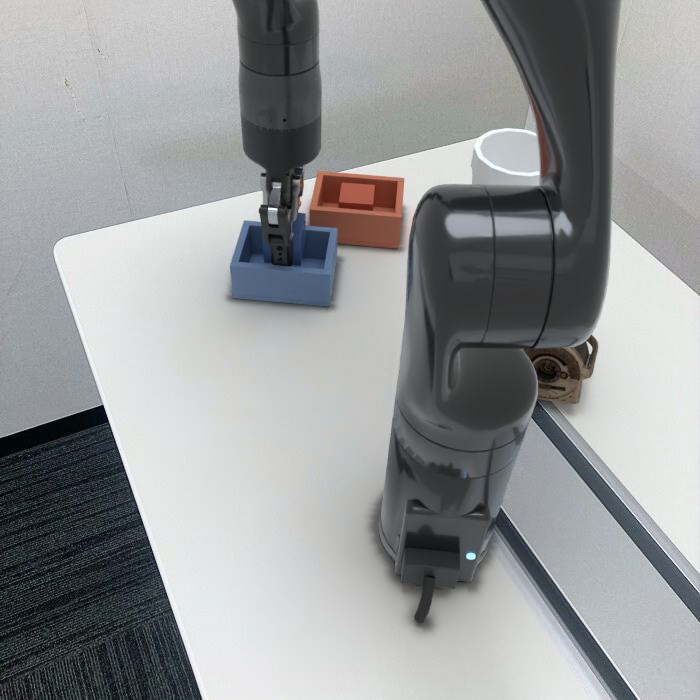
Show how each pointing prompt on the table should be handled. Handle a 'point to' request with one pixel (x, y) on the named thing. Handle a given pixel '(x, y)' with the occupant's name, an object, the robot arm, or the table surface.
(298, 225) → the slate block
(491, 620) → the table surface
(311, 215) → the terracotta bin
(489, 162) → the foam cup
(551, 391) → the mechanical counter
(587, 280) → the robot arm
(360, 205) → the terracotta block
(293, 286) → the blue bin
